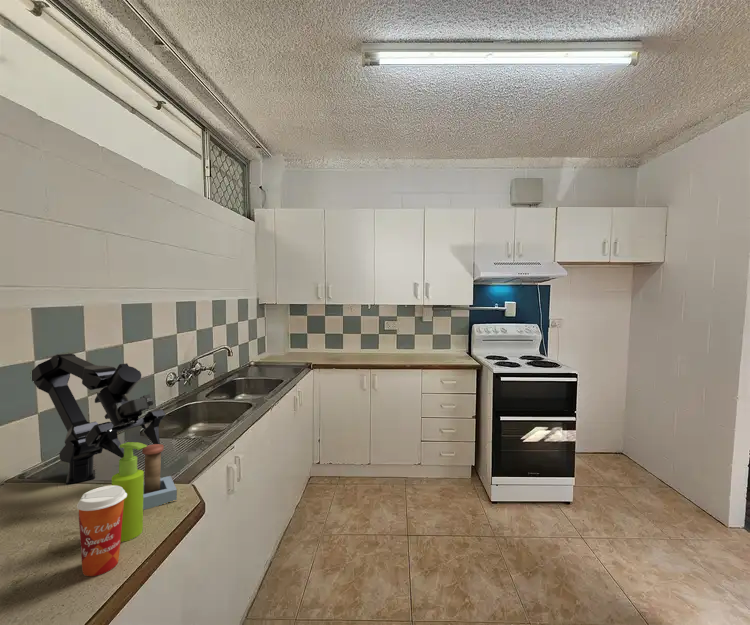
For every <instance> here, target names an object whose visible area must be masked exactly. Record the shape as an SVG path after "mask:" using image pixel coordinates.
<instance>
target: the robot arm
mask: <svg viewBox="0 0 750 625" xmlns="http://www.w3.org/2000/svg"><path fill="white" fill-rule="evenodd" d="M31 371H32V380H31V382H33V381H34V382H33V384H34V385H35V387H36V388H37V389H38V390H41V391H42V392H44V393H46V394H48V396H49V398H50V399H51V402H52V403H53V405H54V407H55V409H56V411H57V414H58V416H59V417H60V419H61V422H62V423H63V425H64V427H65V429H66V431H67V433H66V436H65V439H64V446H63V448H62V449H61V450H60V451H59V454H58V455H59V460H60V461H61V462H65V463H68V474H67V475H66V481H65V484H66V485H69V484H68V483H71V484H75V483H79V482H80V483H81V482H84V481H89V480H94V479H95V478H96V469H94V462H95V461H94V456H95V455H98V454H102V452H103V449H104V450H106V451H108V452H110V453H112V454H114V455H115V456H117V457H119V458H120V459H121V458H123V457H124V448H120V445H121V444H122V443H121V442H120V440H119V438H118V433H120V432H122V431H126V430H131V429H133V428H137V427H141V428H142V429H143V433H144V435H146V437H147V438H148V439H149V441H150V442H151V443H152V445H153V444H161V442H160V441H161V440H160V430H159V429H160V424H161V422H162V421H163V420H164V418H165V417H167V414H166V412H165V411H164V410H163V409H161V408H157V409H153V410H150V411H149V409H150V407H151V406H153V404H154V399H153V398H152V396H151V394H144V395H143V396H141V397H139V398H136V399H130V400H129V399H128V397H127V395H128V394H130V392H131V391H132V390H133V389H134V388H135V386H136V385H137V384H138V383H139V381H140V380H141V379H142V373H141V371H140V370H138V369H137V368H135V367H134V366H130V365H129V364H128V363H127V362H126V363H119V365H118V366H117V368H116V367H114V366H109V365H97V364H93V363H92V362H89V361H88V360H85V359H83V358H80V357H78V356H77V355H76V354H75V353H69V352H68V353H60V354H59V353H58V354H55V355H52V356H51V357H50V359H47V360H45V361H43V362H41V363H39V364H37V365H36V366H35V367H34V368H33V369H32V370H31ZM71 375H72V376H75V377H77V378H79V379H81V385H82V386H84V387H86V388H87V389H88V390H89V391H93V390H99V389H100V391H99V392H97V393H96V397H95V399H94V403H95V404H98V403H100V404H101V406H102V408H103V409H104V411H105V415H104V418H105V420H109V421H106V422H102V423H99V422H97V421H92V422H90V421H88V420H87V419H86V417H85V415H84V413H83V410H82V409H81V407H80V405H79V404H78V402H77V400H76V397H75V396H74V395H73V394H74V393H73V392H72V391H71V389H70V387H69V384H68V383H69V381H70V377H71ZM145 410H148V412H147V413H146V414H145V415H144V417H141V416H142V414H143V411H145ZM139 417H141V418H139Z"/></svg>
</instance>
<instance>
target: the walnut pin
mask: <svg viewBox="0 0 750 625" xmlns="http://www.w3.org/2000/svg"><path fill="white" fill-rule="evenodd" d="M164 447H165V446H164V444H161V443H160V444H153V443H152V444H149V445H147V447H145V448H143V449H141V451H142V452H141V453H142V454H143V455H144V494H147V493H151V492H155V491H159V490H160V478H161V466H162V463H161V461H162V452H163V451H164V449H165V448H164Z"/></svg>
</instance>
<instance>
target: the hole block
mask: <svg viewBox="0 0 750 625" xmlns="http://www.w3.org/2000/svg"><path fill="white" fill-rule="evenodd" d="M177 498H178V489H177V487H176V485H175V483H174V480H173V478H172V476H171V475H169V476H168V475H166V476H164V477H160V490H159V491H155V492H151V493H147V494H144V486H143V511H144V510H148V509H152V508H155V506H156V507H159V505H160V506H163V505H162V504H164V503H167V502H170V501H173V500H177ZM177 501H178V500H177ZM167 504H168V503H167ZM164 505H165V504H164Z"/></svg>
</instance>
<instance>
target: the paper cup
mask: <svg viewBox="0 0 750 625" xmlns="http://www.w3.org/2000/svg"><path fill="white" fill-rule="evenodd" d="M126 497H127V493H125V490H124V489H123V488H122V487H120V486H116V485H112V484H111V485H104V486H100V487H97V488H96V487H95V488H94V489H90V490H89V491H86V492H85V493H83V494H82V496H81V498H80V499H79V501H78V502H77V504H76V509H77V510H78V524H79V538H80V539H79V540H80V554H81V555H80V558H81V570H82V574H83V575H84V576H86V577H96V576H100V575H102V574H106V573H107V572H109V571H111V570H113V569H114V568H115V567H116V566H117V565H118V564H119V560H120V551H121V543H122V542H121V531H122V519H123V507H124V499H125V498H126Z"/></svg>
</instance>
